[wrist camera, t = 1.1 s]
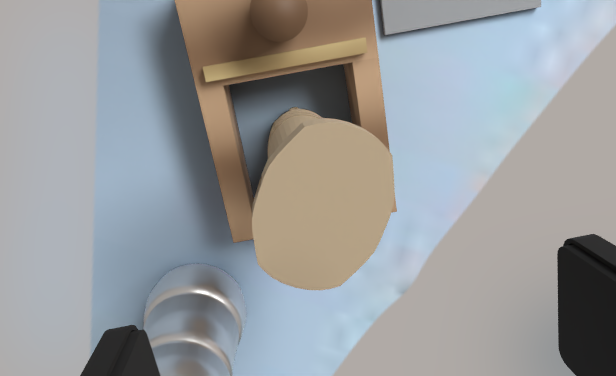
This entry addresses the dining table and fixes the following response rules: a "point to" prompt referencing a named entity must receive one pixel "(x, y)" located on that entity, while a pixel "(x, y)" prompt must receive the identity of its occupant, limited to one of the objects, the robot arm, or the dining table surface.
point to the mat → (443, 12)
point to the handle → (320, 200)
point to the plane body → (275, 71)
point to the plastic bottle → (195, 321)
